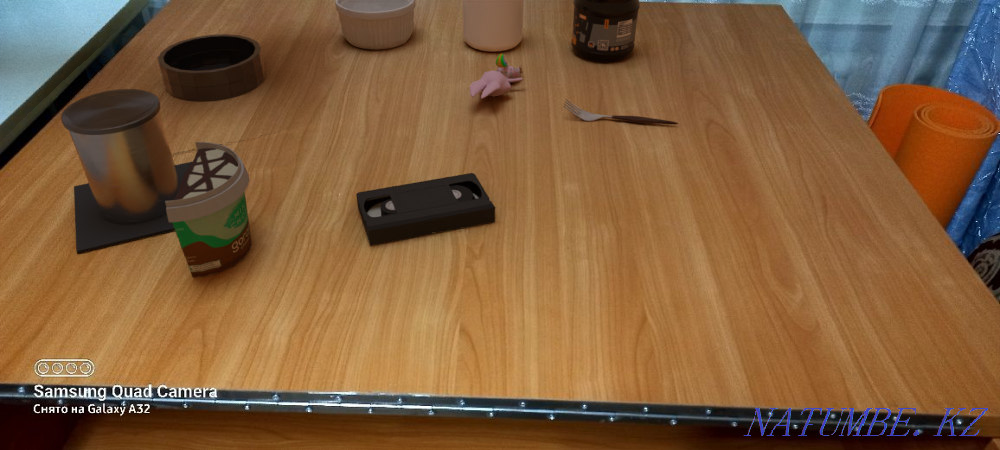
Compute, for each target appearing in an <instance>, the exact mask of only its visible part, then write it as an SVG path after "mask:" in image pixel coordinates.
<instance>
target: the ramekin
mask: <svg viewBox="0 0 1000 450" xmlns="http://www.w3.org/2000/svg"><path fill="white" fill-rule="evenodd" d="M334 3H335V10H336V11H337V13H338V18H339V23H340V28H341V31H342V35H343V36H344V39H345V40H346V41H347V42H348V44H350V45H352V46H354V47H356V48H360V49H363V50H374V51H375V50H376V51H377V50H388V49H393V48H396V47H400V46H402V45H404V44H405V43H407V41H409V39H410V38H411V36H412V34H413V31H414V17H415V8H416V5H417V4H416V0H335V1H334Z"/></svg>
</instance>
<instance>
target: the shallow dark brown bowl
mask: <svg viewBox="0 0 1000 450" xmlns="http://www.w3.org/2000/svg"><path fill="white" fill-rule="evenodd" d="M157 61H158V65H159V69H160V71H161V77H162V79H163V84H164V87H165V90H166V93H168V94H169V95H170V96H171V97H173V98H176V99H179V100H182V101H188V102H197V103H202V102H203V103H204V102H218V101H224V100H228V99H229V100H230V99H233V98H237V97H240V96H242V95H246V94H248V93H251V92H252V91H254V90H255V89H257V88H258V87H260V86H261V85H262V84H263V83H264V82H265V79H266V75H267V73H266V68H265V67H266V66H265V63H264V56H263V51H262V47H261V45H260V44H259V42H258V41H257V40H255V39H254V38H251V37H248V36H244V35H240V34H227V33H222V34H221V33H219V34H207V35H201V36H195V37H191V38H187V39H183V40H179V41H177V42H175V43H173V44H171V45H169V46H167V47H166V48H165V49H162V51H160V53H159V55H158V56H157Z"/></svg>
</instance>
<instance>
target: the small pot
mask: <svg viewBox="0 0 1000 450" xmlns="http://www.w3.org/2000/svg"><path fill="white" fill-rule="evenodd" d="M160 110H161V101H160V98H159V97H158V96H157V95H156V94H155V93H153V92H150V91H148V90H143V89H137V88H120V89H110V90H105V91H100V92H96V93H93V94H90V95H87V96H84V97H81V98H80V99H77V100H75V101H74V102H72V103H70V104H69V105H68V106H67V107H66V108H65V109H64V110H63V111H62V113H61V116H60V121H61V123H62V126H63V127H64V128H65V130H68V132H69V135H70V137H71V141H72V143H73V145H74V148H75V151H76V154H77V156H78V159H79V161H80V165H81V167H82V170H83V172H84V175H85V178H86V180H87V183H89V186H90V188H91V191H92V194H93V196H94V199H95V202H96V204H97V207H98V210H99V212H100V215H101V216H102V217H103V218H104V219H106V220H107V221H109V222H113V223H117V224H137V223H143V222H147V221H151V220H154V219H157V218H159V217H162V216H164V215H166V214H167V212H166V208H167V207H166V204H165V201H172V200H174V198H175V196H176V194H177V192H178V189H179V187H180V182H179V178H178V175H177V171H176V168H175V165H176V164H175V160H174V158H173V155H172V151H171V147H170V144H169V141H168V140H169V139H168V137H167V134H166V129H165V126H164V123H163V119H162V116H161V113H160Z"/></svg>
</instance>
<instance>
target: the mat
mask: <svg viewBox="0 0 1000 450" xmlns="http://www.w3.org/2000/svg"><path fill="white" fill-rule="evenodd" d="M192 162H193V161H188V162H184V163H179V164H175V168H176V171H177V175H178V178H179V182H180V184H181V181H182V178H183V176H184V173H185V172H186V170H187V169H188V168H189V166H190V165H191V164H192ZM73 197H74V201H73V202H74V225H75V228H74V229H75V248H76V249H75V251H76V254H77V255H78V254H79V255H80V254H83V253H88V252H92V251H96V250H100V249H104V248H109V247H114V246H118V245H121V244H127V243H130V242H134V241H138V240H142V239H146V238H151V237H155V236H158V235H164V234H167V233H171V232H176V231H175V229H174V226H173V223H172V222H169V221H168V216H167V214H166V215H164V216H162V217H159V218H157V219H154V220H151V221H147V222H143V223H137V224H117V223H113V222H109V221H107V220H106V219H104V218H103V217H102V216H101V215H100V212H99V210H98V207H97V204H96V202H95V199H94V196H93V194H92V191H91V188H90V186H89V183H88V182H87V183H83V184H78V185H74V186H73Z"/></svg>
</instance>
